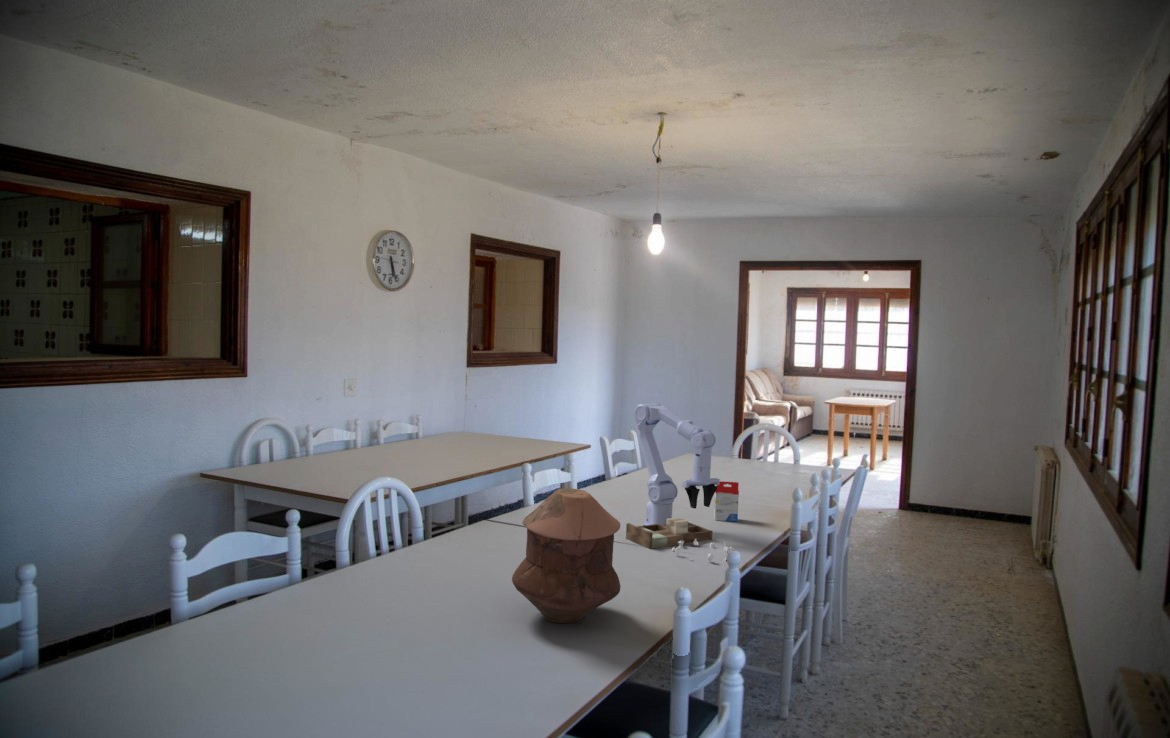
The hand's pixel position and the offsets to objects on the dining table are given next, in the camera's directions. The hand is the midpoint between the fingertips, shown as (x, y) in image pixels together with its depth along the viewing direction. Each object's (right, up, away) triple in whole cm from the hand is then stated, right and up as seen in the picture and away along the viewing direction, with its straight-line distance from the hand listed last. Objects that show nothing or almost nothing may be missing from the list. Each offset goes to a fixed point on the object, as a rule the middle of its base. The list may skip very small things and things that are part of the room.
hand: (700, 507), depth 257 cm
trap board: (-11, -10, -2) cm, 15 cm away
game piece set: (-2, -12, -18) cm, 22 cm away
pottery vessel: (-43, -12, -75) cm, 88 cm away
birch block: (-8, -7, -5) cm, 12 cm away
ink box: (+14, -10, +28) cm, 33 cm away
